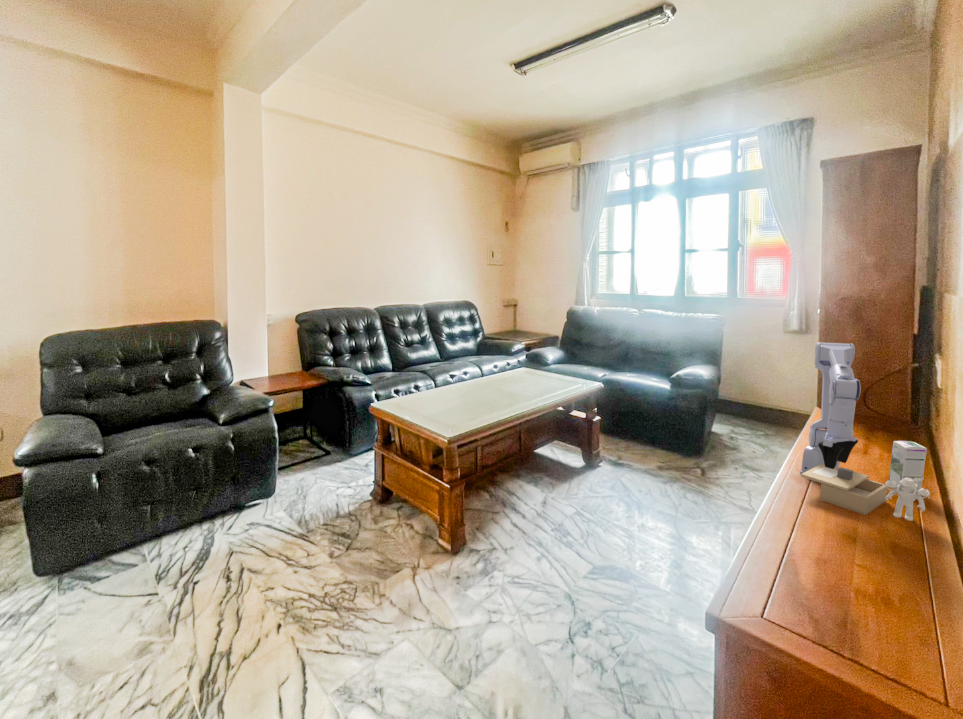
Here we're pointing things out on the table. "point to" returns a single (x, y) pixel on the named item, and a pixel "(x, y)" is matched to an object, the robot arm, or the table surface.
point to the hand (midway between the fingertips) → (835, 464)
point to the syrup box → (907, 462)
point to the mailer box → (856, 496)
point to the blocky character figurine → (907, 496)
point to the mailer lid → (835, 476)
